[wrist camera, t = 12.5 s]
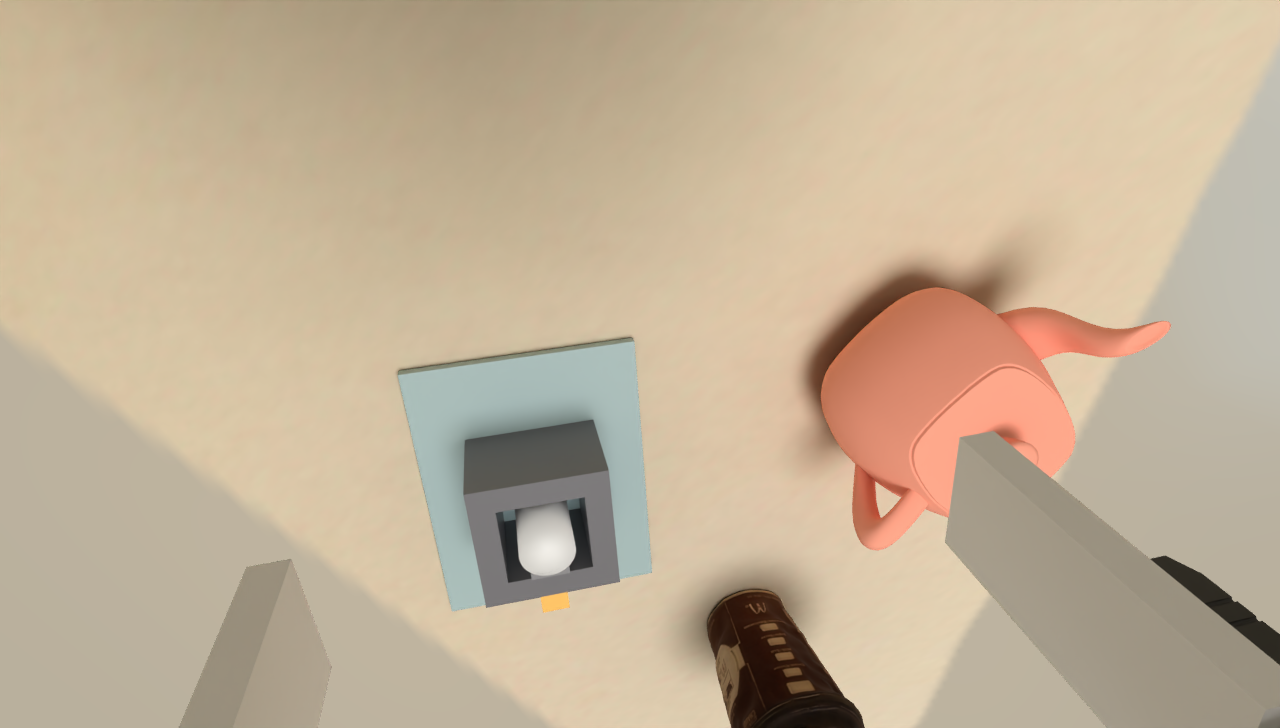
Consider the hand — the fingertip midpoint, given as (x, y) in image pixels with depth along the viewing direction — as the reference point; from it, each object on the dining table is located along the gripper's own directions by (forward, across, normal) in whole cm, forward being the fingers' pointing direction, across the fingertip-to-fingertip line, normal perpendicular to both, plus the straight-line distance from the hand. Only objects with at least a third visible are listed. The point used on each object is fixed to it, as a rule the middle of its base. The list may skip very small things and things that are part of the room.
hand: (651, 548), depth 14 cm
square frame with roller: (+29, -3, -18) cm, 34 cm away
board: (+29, -3, -18) cm, 34 cm away
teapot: (+30, +23, -14) cm, 40 cm away
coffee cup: (+29, +11, -34) cm, 46 cm away
